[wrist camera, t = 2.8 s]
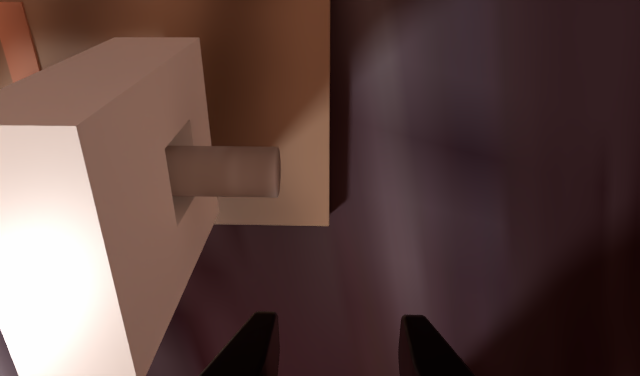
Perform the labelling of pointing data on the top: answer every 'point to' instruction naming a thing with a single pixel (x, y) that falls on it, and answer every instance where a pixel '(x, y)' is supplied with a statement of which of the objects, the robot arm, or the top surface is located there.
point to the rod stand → (216, 91)
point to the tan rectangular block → (99, 206)
